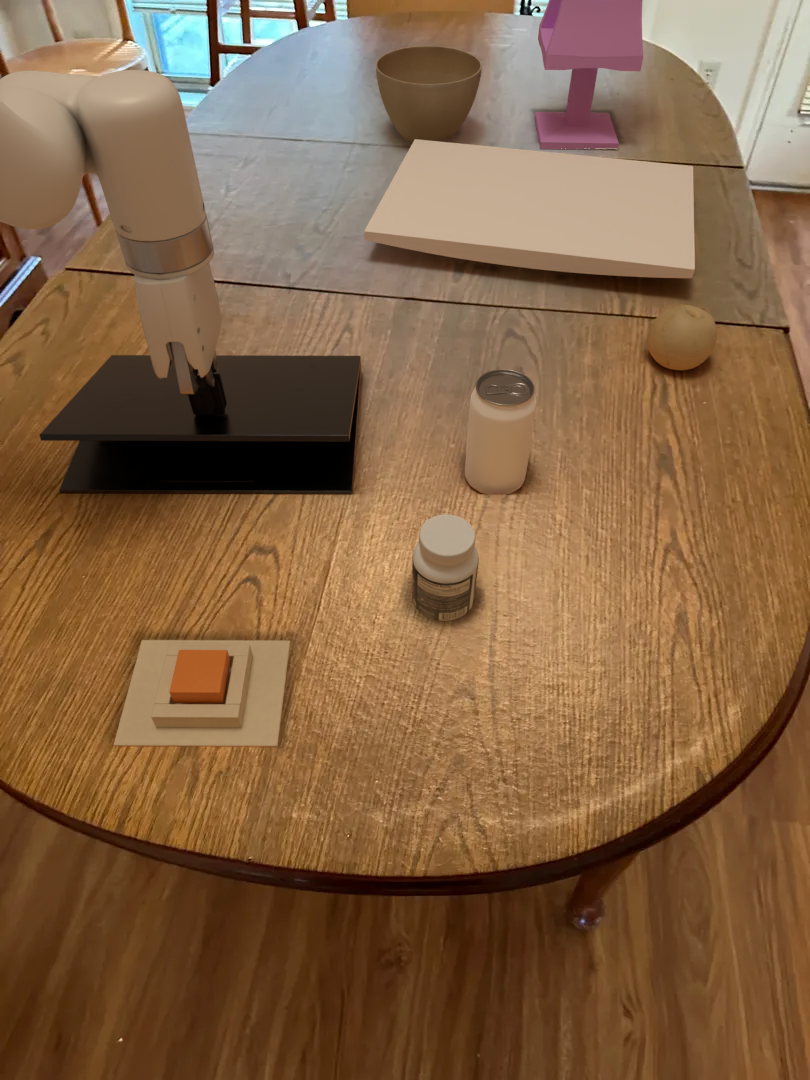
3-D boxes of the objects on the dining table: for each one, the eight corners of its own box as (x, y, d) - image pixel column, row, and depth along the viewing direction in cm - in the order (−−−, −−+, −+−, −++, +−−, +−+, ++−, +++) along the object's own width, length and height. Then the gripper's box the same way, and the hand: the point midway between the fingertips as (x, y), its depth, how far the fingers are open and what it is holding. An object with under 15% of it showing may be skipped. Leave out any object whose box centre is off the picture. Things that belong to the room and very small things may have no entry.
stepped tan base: (118, 753, 63) (106, 734, 61) (145, 649, 70) (136, 628, 67) (279, 754, 63) (274, 735, 61) (292, 649, 70) (288, 628, 67)
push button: (173, 703, 63) (168, 692, 62) (183, 661, 66) (178, 649, 64) (223, 703, 63) (219, 692, 62) (231, 661, 66) (227, 649, 64)
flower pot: (357, 136, 143) (353, 62, 133) (429, 110, 151) (430, 38, 141) (424, 169, 134) (426, 91, 125) (497, 139, 142) (504, 64, 133)
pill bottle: (424, 573, 75) (426, 501, 68) (481, 591, 74) (490, 519, 66) (402, 618, 72) (402, 548, 64) (462, 637, 70) (469, 567, 63)
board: (365, 262, 113) (364, 231, 110) (414, 167, 134) (414, 139, 130) (685, 301, 107) (694, 269, 103) (685, 195, 127) (693, 166, 124)
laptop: (352, 503, 81) (351, 490, 80) (64, 502, 82) (58, 489, 80) (361, 374, 96) (360, 361, 95) (116, 373, 96) (112, 360, 95)
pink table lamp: (529, 116, 149) (556, -123, 122) (611, 117, 148) (656, -122, 122) (534, 151, 138) (565, -102, 112) (623, 152, 138) (675, -101, 112)
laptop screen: (349, 442, 76) (348, 435, 76) (41, 441, 76) (38, 434, 76) (360, 361, 95) (360, 355, 94) (112, 361, 95) (111, 354, 94)
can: (528, 498, 82) (543, 408, 73) (466, 498, 82) (473, 408, 73) (521, 456, 86) (534, 365, 77) (462, 456, 86) (469, 366, 77)
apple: (625, 356, 98) (647, 293, 95) (669, 366, 102) (690, 306, 99) (672, 372, 91) (696, 305, 89) (716, 381, 96) (740, 317, 93)
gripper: (141, 200, 71) (187, 366, 85) (99, 289, 61) (159, 461, 75) (223, 198, 71) (256, 365, 85) (195, 287, 61) (237, 460, 75)
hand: (210, 410), depth 80 cm, fingers closed
